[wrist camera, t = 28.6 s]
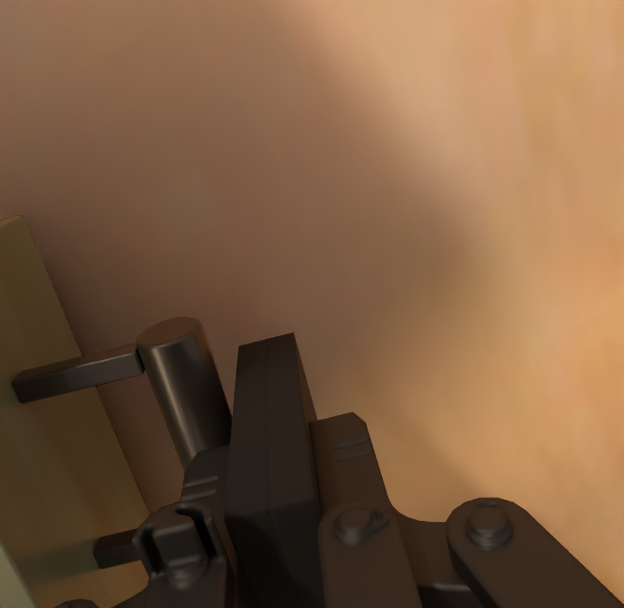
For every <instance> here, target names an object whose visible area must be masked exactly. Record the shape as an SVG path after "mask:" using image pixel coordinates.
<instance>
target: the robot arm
mask: <svg viewBox="0 0 624 608" xmlns="http://www.w3.org/2000/svg"><path fill="white" fill-rule="evenodd" d="M132 541H133V543H134V546H135V548H136V550H137V552H138V554H139V557H140V559H141V561H142V563H143V566H144V568H145V570H146V572H147V574H148V577H149V579H148V584H147V587H146V588H144V589H143V590H142V591H140V592H139V593H137V594H135V595H134V596H132V597H131V598H129V599H127V600H125V601H123V602H121V603H119V604H117V605H115V606H113V607H111V608H624V604H623V603H622V602H621V601H620V600H618V599H617V598H616V597H615V596H614V595H613V594H612V593H611V592H610V591H609V590H608V589H607V588H606V587H605V586H604V585H603V584H602V583H601V582H600V581H599V580H598V579H597V578H596V577H595V576H593V575H592V574H591V573H590V572H589V571H588V570H587V569H586V568H585V567H584V566H583V565H582V564H581V563H580V562H579V561H578V560H577V559H576V558H575V557H574V556H573V555H572V554H571V553H570V552H569V551H567V550H566V549H565V548H564V547H563V546H562V545H561V544H560V543H559V542H558V541H557V540H556V539H555V538H554V537H553V536H552V535H551V534H550V533H549V532H548V531H547V530H546V529H545V528H544V527H542V526H541V525H540V524H539V523H538V522H537V521H536V520H535V519H534V518H533V517H532V516H531V515H530V514H529V513H528V512H527V511H526V510H524V509H523V508H521V507H520V506H518V505H517V504H515V503H514V502H511V501H507V500H504V499H500V498H478V499H474V500H470V501H467V502H465V503H463V504H462V505H460V506H459V507H457V508H456V509H454V510H453V511H452V513H451V514H450V516H449V518H448V519H447V521H446V522H425V521H418V520H414V519H411V518H408V517H406V516H404V515H403V514H401V513H399V512H398V511H397V510H396V509H395V508H394V507H393V506H392V504H391V502H390V500H389V498H388V495H387V492H386V489H385V485H384V482H383V479H382V475H381V472H380V469H379V465H378V462H377V459H376V455H375V452H374V449H373V445H372V442H371V439H370V435H369V432H368V429H367V425H366V422H364V421H363V420H362V419H361V418H360V417H358V416H357V415H356V414H355V413H353V412H350V413H346V414H342V415H338V416H334V417H330V418H326V419H322V420H318V421H317V416H316V413H315V409H314V405H313V402H312V398H311V394H310V391H309V387H308V383H307V380H306V376H305V372H304V369H303V365H302V361H301V358H300V354H299V350H298V347H297V343H296V339H295V336H294V332H293V333H289V334H285V335H281V336H277V337H273V338H269V339H265V340H261V341H257V342H253V343H249V344H245V345H241V346H239V348H238V359H237V371H236V383H235V394H234V406H233V417H232V429H231V440H230V444H228V445H223V446H219V447H215V448H211V449H207V450H203V451H199V452H197V454H196V455H195V457H194V458H193V459H192V461H191V462H190V464H189V465H188V466H187V468H186V471H185V476H184V481H183V489H182V492H181V497H180V502H176V503H173V504H170V505H168V506H165V507H162V508H161V509H159V510H158V511H156V512H155V513H153V514H152V515H150V516H149V517H148V518H147V519H146V520H145V521H144V522H143V523H142V524H141V525H140V526H139V527H138V528H137V530H136V532H135V534H134V536H133V538H132ZM54 608H99V607H98V606H97V605H96V604H95V603H94V602H93V601H92V600H86V599H75V600H71V601H66V602H64V603H62V604H60V605H58V606H56V607H54Z"/></svg>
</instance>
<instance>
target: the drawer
mask: <svg viewBox="0 0 624 608" xmlns="http://www.w3.org/2000/svg"><path fill="white" fill-rule="evenodd" d="M145 370H146V373H147V375H148V378H149V380H150V383H151V386H152V388H153V391H154V394H155V396H156V399H157V401H158V404H159V407H160V409H161V412H162V415H163V417H164V420H165V422H166V425H167V428H168V430H169V433H170V436H171V438H172V441H173V443H174V446H175V449H176V451H177V454H178V457H179V459H180V462H181V465H182V467H183V470H184V472H185V471H186V468H187V466H188V465H189V464H190V462H191V461H192V459H193V458H194V457H195V455H196V454H197V452H199V451H203V450H207V449H211V448H215V447H219V446H223V445H228V444H230V440H231V429H232V417H233V416H232V413H231V410H230V407H229V404H228V401H227V398H226V395H225V392H224V389H223V386H222V383H221V380H220V377H219V374H218V371H217V368H216V365H215V362H214V358H213V355H212V352H211V349H210V346H209V343H208V340H207V337H206V334H205V331H204V328H203V325H202V322H201V321H200V320H199V319H198V318H195V317H179V318H174V319H170V320H166V321H163V322H161V323H158V324H156V325H154V326H152V327H150V328H149V329H147V330H145V331H144V332H143V333H141V334H140V335H139V336H138V338H137V340H136V343H133V344H129V345H125V346H121V347H117V348H113V349H109V350H105V351H101V352H97V353H93V354H89V355H84V356H82V354H81V351H80V349H79V347H78V344H77V342H76V340H75V337H74V335H73V332H72V330H71V328H70V325H69V323H68V321H67V318H66V316H65V313H64V311H63V309H62V306H61V304H60V302H59V299H58V297H57V294H56V292H55V290H54V287H53V285H52V283H51V280H50V278H49V276H48V273H47V271H46V268H45V266H44V264H43V261H42V259H41V257H40V254H39V252H38V249H37V247H36V245H35V242H34V240H33V238H32V235H31V233H30V230H29V228H28V226H27V223H26V221H25V219H24V217H23V216H16V217H12V218H8V219H4V220H0V608H54V607H56V606H58V605H60V604H62V603H64V602H66V601H71V600H75V599H86V600H92V601H93V602H94V603H95V604H96V605H97V606H98V607H99V608H111V607H113V606H115V605H117V604H119V603H121V602H123V601H125V600H127V599H129V598H131V597H132V596H134V595H135V594H137V593H139V592H140V591H142V590H143V589H144V588H146V587H147V584H148V579H149V577H148V574H147V572H146V570H145V568H144V566H143V563H142V561H141V559H140V557H139V554H138V552H137V550H136V548H135V546H134V543H133V541H132V538H133V536H134V534H135V532H136V530H137V528H138V527H139V526H140V525H141V524H142V523H143V522H144V521H145V520H146V519H147V518H148V517H149V516H150V515H149V513H148V510H147V508H146V506H145V503H144V501H143V498H142V496H141V494H140V491H139V489H138V487H137V484H136V482H135V479H134V477H133V475H132V472H131V470H130V468H129V465H128V463H127V461H126V458H125V456H124V453H123V451H122V449H121V446H120V444H119V442H118V439H117V437H116V434H115V432H114V430H113V427H112V425H111V423H110V420H109V418H108V415H107V413H106V411H105V408H104V406H103V404H102V401H101V399H100V396H99V394H98V392H97V389H96V387H95V386H98V385H102V384H106V383H110V382H114V381H118V380H122V379H126V378H130V377H135V376H139V375H142V374H144V372H145Z"/></svg>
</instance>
